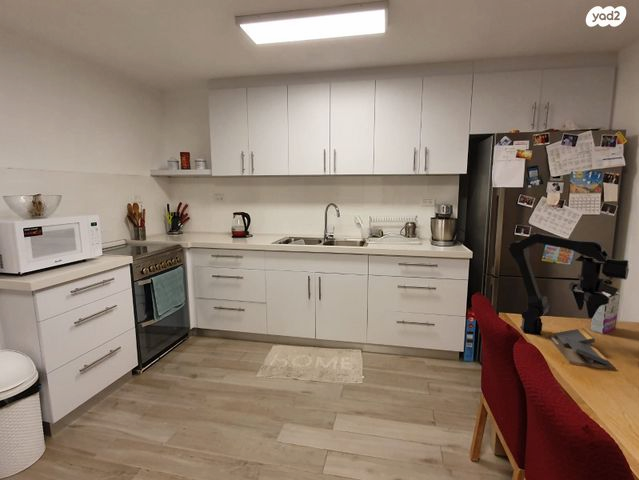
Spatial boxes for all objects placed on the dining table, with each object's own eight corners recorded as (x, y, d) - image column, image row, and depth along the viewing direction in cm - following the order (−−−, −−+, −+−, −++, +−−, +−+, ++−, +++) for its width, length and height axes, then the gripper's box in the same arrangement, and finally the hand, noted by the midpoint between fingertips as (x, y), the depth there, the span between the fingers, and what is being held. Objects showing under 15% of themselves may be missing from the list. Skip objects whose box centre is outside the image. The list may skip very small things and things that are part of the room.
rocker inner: (564, 347, 126) (563, 343, 126) (555, 336, 136) (554, 332, 136) (595, 342, 123) (594, 338, 123) (584, 331, 132) (582, 327, 132)
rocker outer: (575, 351, 116) (577, 348, 116) (564, 339, 125) (566, 336, 125) (607, 365, 113) (609, 361, 113) (594, 351, 123) (596, 348, 122)
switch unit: (569, 363, 117) (569, 357, 116) (548, 337, 137) (549, 332, 137) (615, 370, 112) (615, 363, 112) (586, 342, 133) (587, 336, 133)
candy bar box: (601, 325, 150) (606, 289, 147) (615, 329, 145) (620, 293, 143) (588, 330, 145) (593, 293, 142) (602, 334, 140) (608, 296, 138)
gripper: (630, 282, 114) (624, 325, 117) (604, 270, 132) (599, 308, 134) (591, 279, 118) (585, 321, 120) (570, 268, 135) (566, 305, 138)
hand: (585, 313), depth 128 cm, fingers open, 9 cm apart
